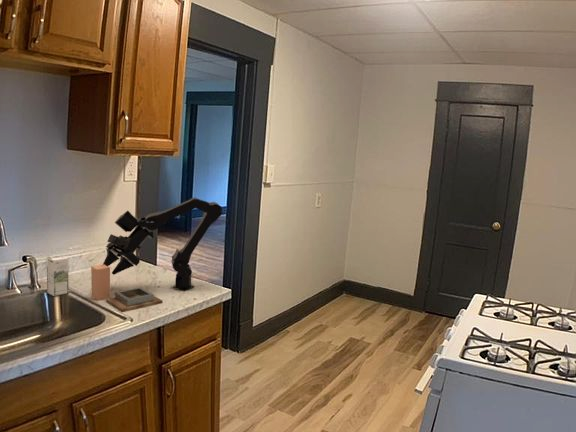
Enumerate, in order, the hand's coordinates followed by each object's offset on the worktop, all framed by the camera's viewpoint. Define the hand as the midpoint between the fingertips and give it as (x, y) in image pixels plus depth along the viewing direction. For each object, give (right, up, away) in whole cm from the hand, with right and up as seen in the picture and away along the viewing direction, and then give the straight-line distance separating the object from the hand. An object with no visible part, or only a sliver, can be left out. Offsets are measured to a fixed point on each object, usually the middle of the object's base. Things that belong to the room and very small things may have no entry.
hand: (107, 270), depth 178 cm
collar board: (+12, -11, -4) cm, 17 cm away
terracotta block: (-2, -10, 0) cm, 10 cm away
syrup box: (-19, -9, +1) cm, 21 cm away
